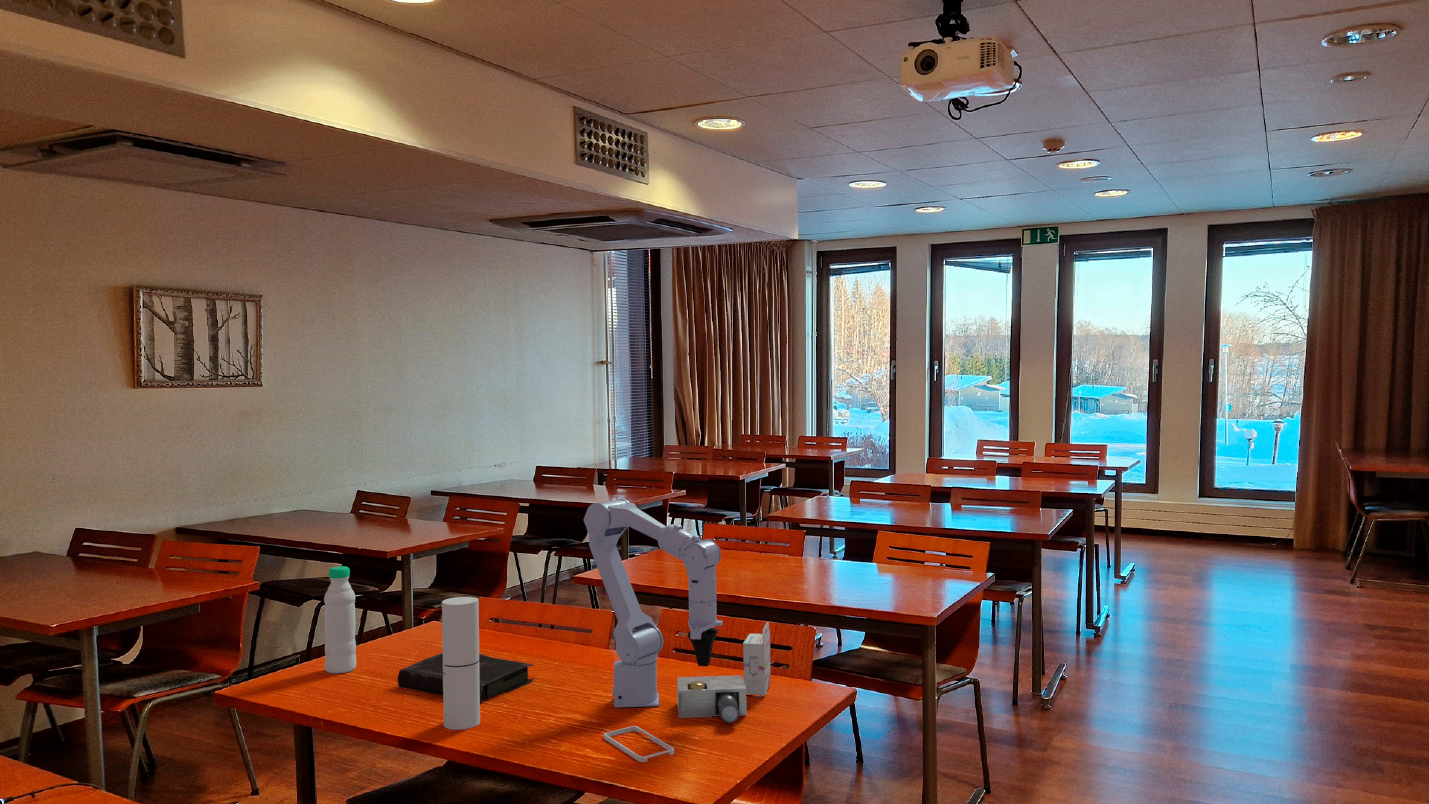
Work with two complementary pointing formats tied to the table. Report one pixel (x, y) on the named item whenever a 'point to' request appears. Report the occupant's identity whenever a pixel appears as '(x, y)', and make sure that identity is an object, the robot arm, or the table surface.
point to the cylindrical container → (461, 662)
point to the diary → (492, 676)
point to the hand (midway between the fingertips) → (703, 665)
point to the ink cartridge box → (757, 662)
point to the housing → (709, 695)
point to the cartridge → (727, 706)
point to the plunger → (697, 685)
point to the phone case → (631, 753)
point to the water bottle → (340, 623)
